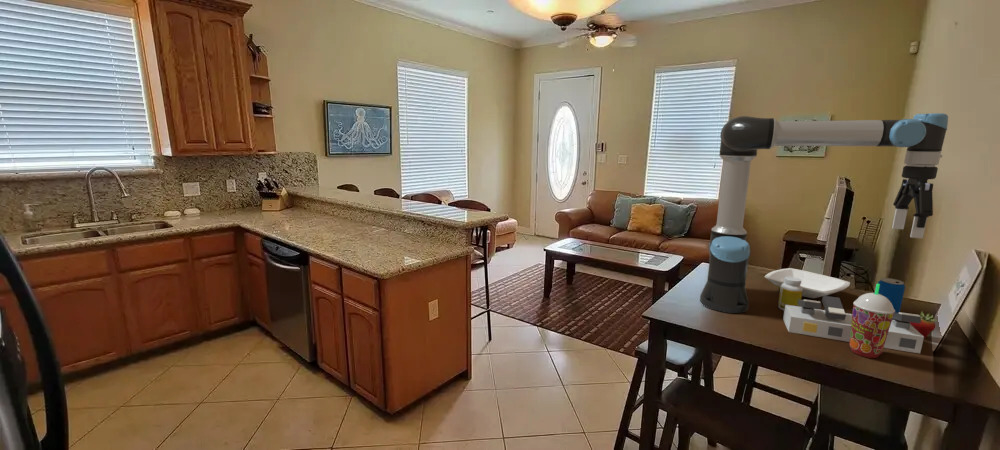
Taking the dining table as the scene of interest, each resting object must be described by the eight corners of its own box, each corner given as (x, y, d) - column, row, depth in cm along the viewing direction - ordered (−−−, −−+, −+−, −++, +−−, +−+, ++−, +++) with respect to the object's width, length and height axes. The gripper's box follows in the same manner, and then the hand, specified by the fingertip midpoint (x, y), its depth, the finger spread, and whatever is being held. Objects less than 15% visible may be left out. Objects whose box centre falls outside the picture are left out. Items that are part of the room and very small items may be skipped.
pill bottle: (803, 313, 139) (808, 282, 137) (784, 312, 139) (789, 281, 137) (792, 305, 145) (796, 275, 143) (773, 305, 145) (778, 275, 143)
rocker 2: (827, 317, 122) (829, 311, 121) (821, 300, 128) (823, 294, 127) (844, 320, 120) (846, 314, 119) (837, 302, 127) (839, 296, 126)
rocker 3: (901, 320, 114) (901, 312, 114) (887, 317, 122) (888, 310, 122) (920, 323, 112) (921, 315, 112) (905, 320, 120) (906, 312, 120)
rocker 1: (804, 307, 123) (804, 299, 123) (797, 305, 131) (798, 298, 131) (820, 309, 122) (821, 301, 122) (813, 307, 129) (813, 300, 129)
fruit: (928, 343, 118) (934, 317, 117) (903, 336, 123) (909, 310, 121) (935, 339, 121) (941, 314, 119) (910, 332, 125) (916, 307, 124)
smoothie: (836, 346, 117) (849, 279, 113) (864, 344, 118) (877, 278, 114) (864, 361, 109) (879, 290, 105) (893, 360, 110) (909, 289, 105)
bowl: (785, 279, 172) (787, 266, 170) (854, 297, 152) (857, 282, 151) (756, 289, 160) (758, 275, 159) (827, 310, 141) (830, 295, 140)
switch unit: (788, 332, 125) (792, 312, 124) (783, 319, 134) (785, 300, 133) (920, 354, 113) (925, 331, 111) (904, 337, 122) (908, 317, 120)
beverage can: (903, 320, 133) (911, 284, 131) (880, 318, 135) (887, 283, 132) (889, 311, 140) (896, 278, 137) (867, 310, 141) (874, 276, 138)
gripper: (959, 168, 114) (942, 243, 118) (918, 163, 136) (905, 226, 140) (923, 168, 117) (908, 240, 122) (888, 162, 139) (876, 224, 144)
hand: (906, 233), depth 131 cm, fingers open, 13 cm apart
